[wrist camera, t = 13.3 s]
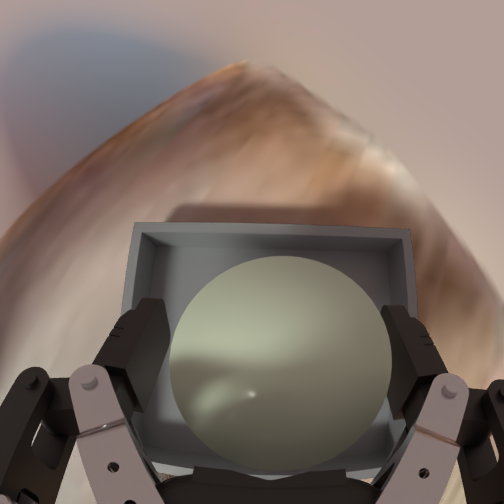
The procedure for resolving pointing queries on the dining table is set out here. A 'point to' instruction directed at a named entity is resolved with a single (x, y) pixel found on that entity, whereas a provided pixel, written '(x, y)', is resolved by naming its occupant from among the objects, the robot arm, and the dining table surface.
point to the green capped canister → (280, 363)
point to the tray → (230, 255)
